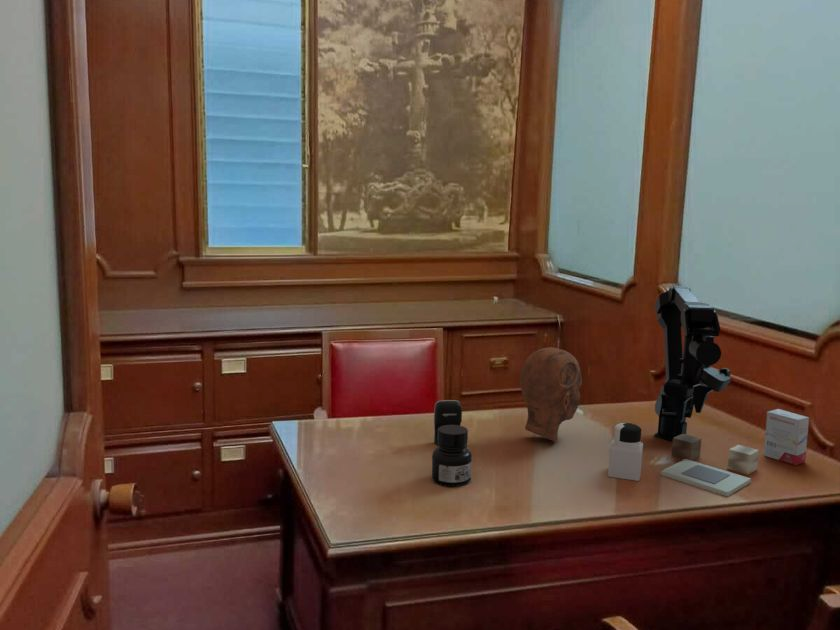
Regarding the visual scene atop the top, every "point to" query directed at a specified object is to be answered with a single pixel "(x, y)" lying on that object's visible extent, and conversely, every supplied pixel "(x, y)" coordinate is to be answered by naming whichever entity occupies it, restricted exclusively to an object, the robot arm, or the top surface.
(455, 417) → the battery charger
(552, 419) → the head sculpture
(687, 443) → the walnut cube
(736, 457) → the maple cube
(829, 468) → the top surface
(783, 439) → the ink box
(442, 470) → the ink bottle
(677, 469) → the board
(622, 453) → the medicine bottle
